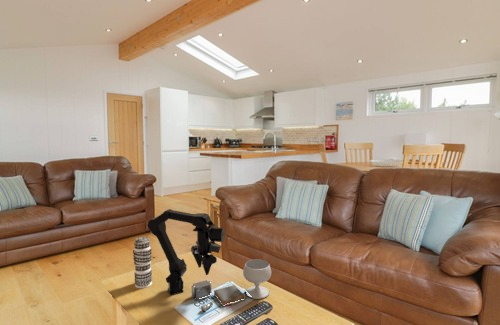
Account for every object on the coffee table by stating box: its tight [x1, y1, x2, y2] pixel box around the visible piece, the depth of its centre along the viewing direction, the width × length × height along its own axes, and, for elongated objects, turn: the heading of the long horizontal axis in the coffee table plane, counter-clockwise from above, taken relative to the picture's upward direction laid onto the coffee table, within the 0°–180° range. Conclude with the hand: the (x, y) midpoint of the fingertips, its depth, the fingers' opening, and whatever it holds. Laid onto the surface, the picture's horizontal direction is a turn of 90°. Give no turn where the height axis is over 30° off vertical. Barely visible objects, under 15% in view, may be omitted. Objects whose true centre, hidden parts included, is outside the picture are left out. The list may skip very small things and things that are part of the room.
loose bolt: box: [200, 301, 213, 312], centre depth 131 cm, size 6×3×3 cm, turn 149°
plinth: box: [213, 284, 246, 305], centre depth 140 cm, size 11×11×3 cm
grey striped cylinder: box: [132, 236, 153, 289], centre depth 152 cm, size 9×9×25 cm
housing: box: [191, 280, 212, 300], centre depth 142 cm, size 10×5×6 cm, turn 119°
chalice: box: [242, 258, 272, 300], centre depth 144 cm, size 14×14×15 cm
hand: (203, 270), depth 142 cm, fingers open, 9 cm apart
